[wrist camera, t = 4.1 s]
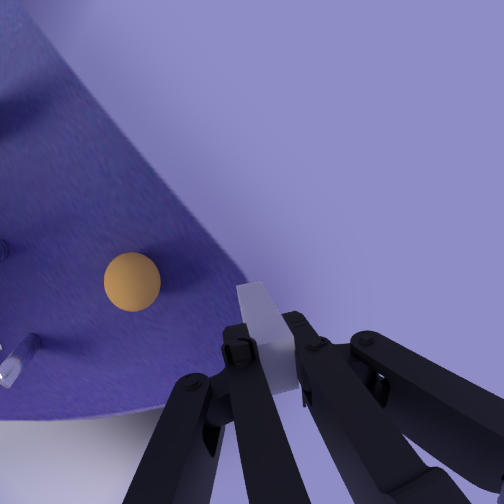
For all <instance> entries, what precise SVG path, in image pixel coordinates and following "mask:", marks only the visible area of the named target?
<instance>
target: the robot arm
mask: <svg viewBox="0 0 504 504" xmlns="http://www.w3.org/2000/svg"><path fill="white" fill-rule="evenodd" d="M236 288H237V293H238V299H239V304H240V309H241V314H242V319H243V324H238V325H233V326H228V327H226V328H225V329H224V331H223V340H224V344H223V345H222V347H221V351H222V355H223V358H224V362H225V368H224V369H223V371H221V372H220V373H219V374H217V375H215V376H212V377H210V378H208V377H207V376H206V375H204V374H202V373H191V374H188V375H185V376H183V377H181V378H180V379H179V380H178V381H177V382H176V384H175V386H174V388H173V390H172V392H171V394H170V397H169V399H168V401H167V403H166V405H165V408H164V410H163V412H162V414H161V417H160V419H159V421H158V423H157V425H156V428H155V430H154V432H153V434H152V437H151V439H150V441H149V443H148V446H147V448H146V450H145V452H144V455H143V457H142V459H141V461H140V464H139V466H138V468H137V471H136V473H135V475H134V477H133V480H132V482H131V484H130V487H129V489H128V491H127V494H126V496H125V498H124V501H123V503H122V504H209V503H210V498H211V494H212V489H213V484H214V479H215V475H216V469H217V465H218V460H219V456H220V451H221V446H222V441H223V436H224V431H225V424H228V423H230V422H232V421H234V424H235V430H236V435H237V442H238V447H239V453H240V458H241V464H242V469H243V474H244V480H245V485H246V490H247V495H248V499H249V504H311V502H310V499H309V497H308V494H307V491H306V489H305V486H304V483H303V481H302V478H301V476H300V473H299V470H298V467H297V465H296V462H295V459H294V457H293V454H292V451H291V448H290V445H289V443H288V440H287V437H286V434H285V431H284V429H283V426H282V423H281V420H280V417H279V415H278V412H277V409H276V406H275V403H274V400H273V397H272V395H274V394H278V393H282V392H286V391H290V390H294V389H298V388H299V383H298V380H299V382H300V384H301V387H302V399H303V407H306V404H307V406H308V408H309V410H310V413H311V415H312V417H313V419H314V421H315V423H316V425H317V427H318V430H319V432H320V434H321V436H322V438H323V440H324V442H325V444H326V446H327V448H328V450H329V452H330V455H331V457H332V459H333V461H334V463H335V465H336V467H337V469H338V471H339V473H340V475H341V477H342V479H343V481H344V483H345V485H346V487H347V489H348V491H349V493H350V495H351V497H352V499H353V501H354V503H355V504H471V503H470V501H469V500H468V499H467V497H466V496H465V495H464V494H463V492H462V491H461V490H460V489H459V487H458V486H457V485H456V484H455V482H454V481H453V480H452V479H451V477H450V476H449V475H448V473H447V472H445V471H444V470H443V469H442V468H439V467H428V466H427V465H426V464H425V463H424V462H423V461H422V460H421V458H420V457H419V456H418V455H417V453H416V452H415V450H414V449H413V448H412V446H411V445H410V444H409V443H408V441H407V440H406V439H405V437H404V436H403V435H405V436H406V437H407V438H409V439H410V440H411V441H413V442H414V443H415V444H417V445H418V446H419V447H421V448H422V449H423V450H425V451H426V452H428V453H429V454H430V455H432V456H433V457H435V458H436V459H437V460H439V461H440V462H441V463H443V464H444V465H446V466H447V467H449V468H450V469H452V470H453V471H454V472H456V473H457V474H459V475H460V476H462V477H463V478H464V479H466V480H468V481H469V482H471V483H472V484H474V485H476V486H477V487H479V488H481V489H484V490H487V491H489V492H493V493H498V494H500V495H499V497H498V500H497V503H498V504H504V399H502V398H500V397H498V396H496V395H494V394H493V393H491V392H489V391H487V390H485V389H483V388H481V387H479V386H477V385H475V384H473V383H471V382H469V381H468V380H466V379H464V378H462V377H460V376H458V375H456V374H454V373H452V372H451V371H449V370H447V369H445V368H443V367H441V366H439V365H437V364H435V363H433V362H432V361H430V360H428V359H426V358H424V357H422V356H420V355H418V354H416V353H415V352H413V351H411V350H409V349H407V348H405V347H403V346H402V345H400V344H398V343H396V342H394V341H392V340H390V339H389V338H387V337H385V336H383V335H381V334H379V333H377V332H374V331H361V332H358V333H356V334H354V335H353V336H352V338H351V340H350V343H348V344H332V343H331V342H330V340H328V339H327V338H325V337H321V336H318V334H317V333H316V332H315V330H314V329H313V328H312V326H311V325H310V324H309V322H308V321H307V320H306V318H305V317H304V315H303V314H301V313H299V312H297V311H293V312H288V313H284V314H280V312H279V310H278V309H277V307H276V305H275V304H274V302H273V300H272V298H271V297H270V295H269V293H268V291H267V290H266V288H265V286H264V284H263V283H262V281H256V282H251V283H247V284H242V285H237V286H236ZM379 374H381V375H383V376H384V377H385V378H383V377H381V376H379ZM402 434H403V435H402Z"/></svg>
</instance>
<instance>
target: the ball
mask: <svg viewBox="0 0 504 504" xmlns="http://www.w3.org/2000/svg"><path fill="white" fill-rule="evenodd" d="M160 286H161V279H160V274H159V271H158V269H157V267H156V265H155V264H154V263H153V262H152V261H151V260H150V259H149V258H148V257H146V256H145V255H142V254H140V253H135V252H129V253H124V254H121V255H119V256H117V257H116V258H114V259H113V260H112V261H111V263H110V264H109V265H108V267H107V269H106V272H105V275H104V287H105V291H106V293H107V295H108V297H109V299H110V300H111V301H112V303H113V304H115V305H116V306H117V307H119V308H120V309H123V310H126V311H140V310H143V309H145V308H147V307H149V306H150V305H151V304H152V303H153V302H154V301H155V300H156V298H157V296H158V294H159V291H160Z"/></svg>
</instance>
